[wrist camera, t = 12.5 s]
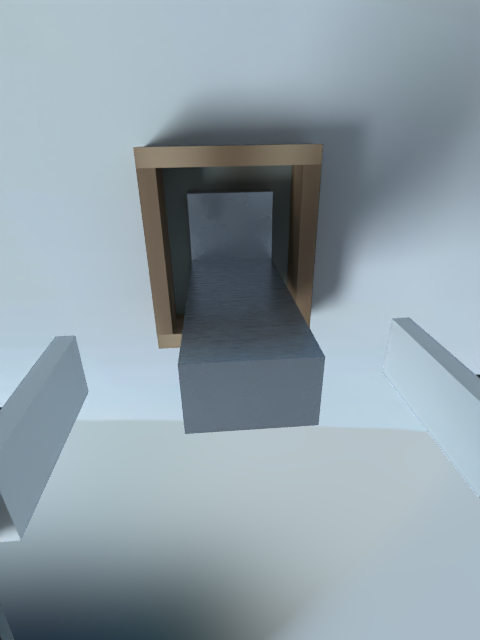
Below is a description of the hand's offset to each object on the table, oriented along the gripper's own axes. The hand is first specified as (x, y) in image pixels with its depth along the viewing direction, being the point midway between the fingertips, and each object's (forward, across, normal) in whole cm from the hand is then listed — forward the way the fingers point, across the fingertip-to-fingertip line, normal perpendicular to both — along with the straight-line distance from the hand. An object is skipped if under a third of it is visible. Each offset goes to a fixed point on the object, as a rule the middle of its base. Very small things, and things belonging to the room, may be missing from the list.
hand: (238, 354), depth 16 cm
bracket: (+11, 0, +2) cm, 11 cm away
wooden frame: (+12, 0, +2) cm, 12 cm away
